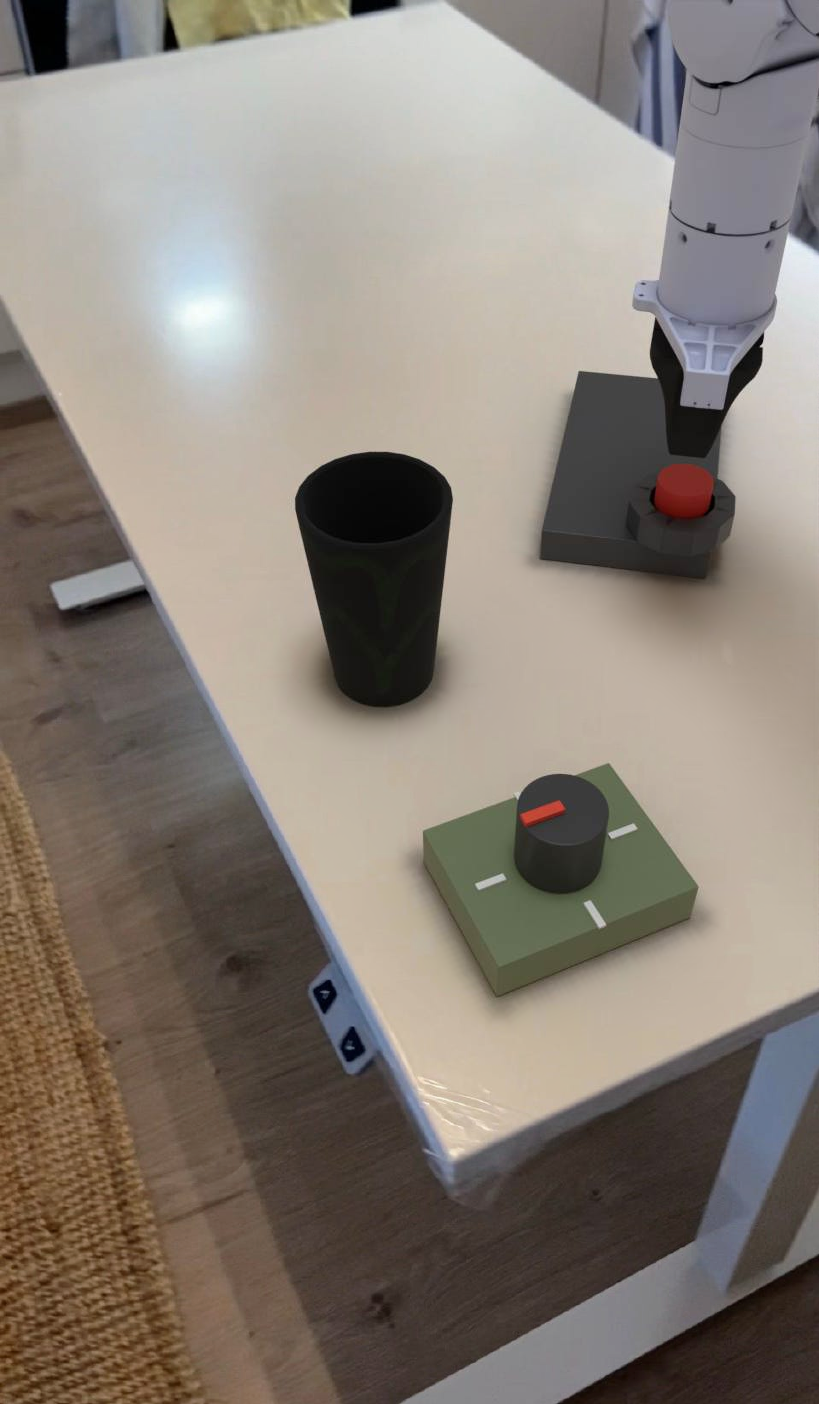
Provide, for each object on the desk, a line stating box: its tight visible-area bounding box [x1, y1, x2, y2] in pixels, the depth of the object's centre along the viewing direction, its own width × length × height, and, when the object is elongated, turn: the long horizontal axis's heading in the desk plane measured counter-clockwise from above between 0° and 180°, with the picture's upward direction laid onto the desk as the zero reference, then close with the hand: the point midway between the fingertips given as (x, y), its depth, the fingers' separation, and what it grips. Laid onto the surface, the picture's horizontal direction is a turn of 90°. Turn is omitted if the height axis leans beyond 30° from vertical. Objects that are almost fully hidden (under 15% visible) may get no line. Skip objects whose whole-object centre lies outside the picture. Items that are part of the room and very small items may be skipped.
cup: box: [294, 451, 454, 708], centre depth 62 cm, size 8×8×12 cm
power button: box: [654, 464, 714, 520], centre depth 70 cm, size 3×3×2 cm
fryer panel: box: [422, 762, 699, 997], centre depth 55 cm, size 10×8×3 cm
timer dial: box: [514, 773, 609, 893], centre depth 53 cm, size 4×4×4 cm
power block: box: [539, 370, 737, 579], centre depth 76 cm, size 19×11×4 cm, turn 167°
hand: (688, 449), depth 66 cm, fingers closed
